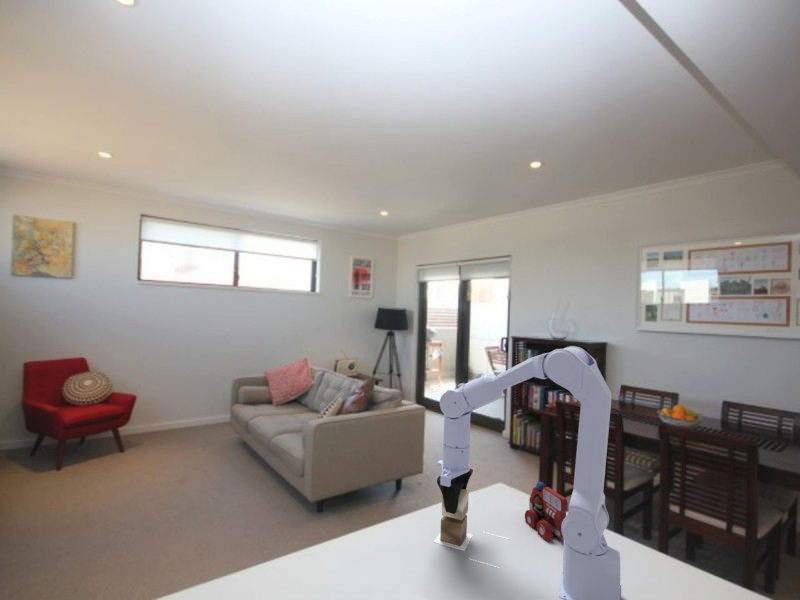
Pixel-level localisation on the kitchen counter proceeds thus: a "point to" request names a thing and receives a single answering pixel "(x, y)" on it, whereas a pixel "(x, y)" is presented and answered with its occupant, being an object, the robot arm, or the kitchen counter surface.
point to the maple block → (461, 508)
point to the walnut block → (453, 530)
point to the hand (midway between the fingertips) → (454, 507)
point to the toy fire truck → (546, 511)
